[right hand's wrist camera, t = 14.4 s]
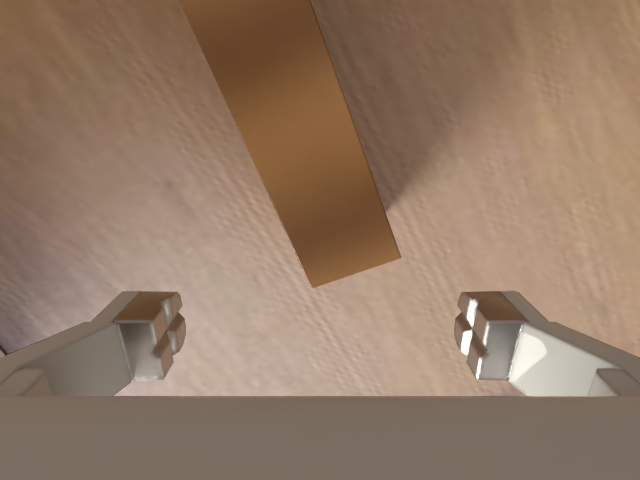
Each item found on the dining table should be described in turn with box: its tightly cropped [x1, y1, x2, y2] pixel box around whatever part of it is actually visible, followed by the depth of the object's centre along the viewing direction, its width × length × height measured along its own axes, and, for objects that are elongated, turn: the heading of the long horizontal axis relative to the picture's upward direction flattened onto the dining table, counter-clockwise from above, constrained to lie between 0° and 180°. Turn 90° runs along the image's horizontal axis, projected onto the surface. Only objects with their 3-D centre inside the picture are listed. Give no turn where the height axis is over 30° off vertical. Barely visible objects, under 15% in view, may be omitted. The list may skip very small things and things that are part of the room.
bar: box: [179, 0, 401, 288], centre depth 19 cm, size 25×5×8 cm, turn 22°
